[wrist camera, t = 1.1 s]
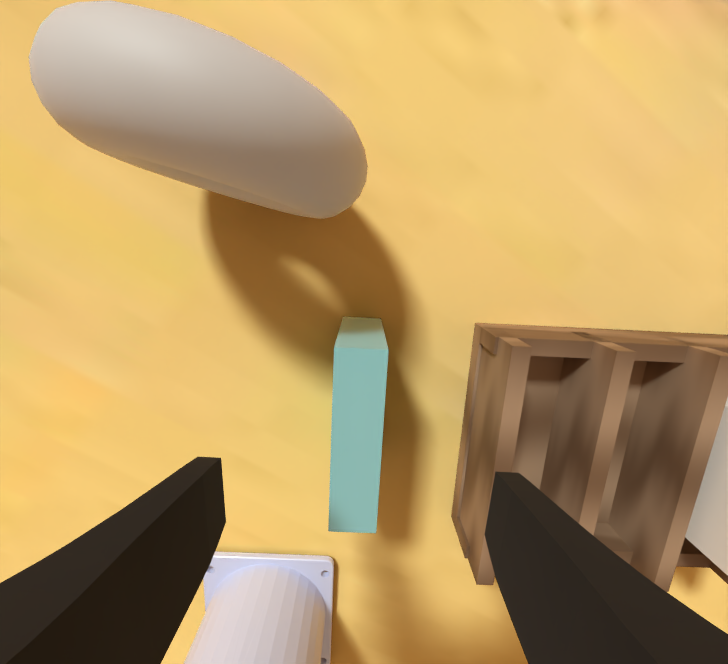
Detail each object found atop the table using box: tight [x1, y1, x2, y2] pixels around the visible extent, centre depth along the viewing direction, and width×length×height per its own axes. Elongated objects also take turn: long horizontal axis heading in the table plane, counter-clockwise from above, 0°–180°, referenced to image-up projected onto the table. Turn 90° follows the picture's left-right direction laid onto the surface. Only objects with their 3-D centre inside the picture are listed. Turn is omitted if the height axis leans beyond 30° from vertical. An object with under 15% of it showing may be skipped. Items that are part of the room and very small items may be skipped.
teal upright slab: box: [328, 317, 389, 533], centre depth 17 cm, size 8×2×6 cm, turn 177°
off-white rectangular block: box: [685, 398, 728, 575], centre depth 17 cm, size 7×2×5 cm, turn 177°
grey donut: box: [29, 1, 368, 219], centre depth 12 cm, size 10×4×10 cm, turn 74°
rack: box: [451, 323, 728, 592], centre depth 18 cm, size 12×14×4 cm
